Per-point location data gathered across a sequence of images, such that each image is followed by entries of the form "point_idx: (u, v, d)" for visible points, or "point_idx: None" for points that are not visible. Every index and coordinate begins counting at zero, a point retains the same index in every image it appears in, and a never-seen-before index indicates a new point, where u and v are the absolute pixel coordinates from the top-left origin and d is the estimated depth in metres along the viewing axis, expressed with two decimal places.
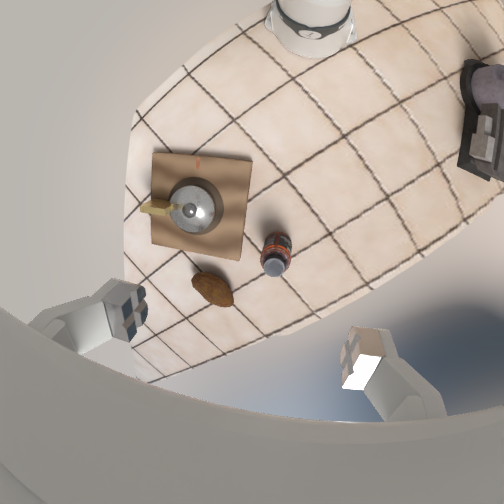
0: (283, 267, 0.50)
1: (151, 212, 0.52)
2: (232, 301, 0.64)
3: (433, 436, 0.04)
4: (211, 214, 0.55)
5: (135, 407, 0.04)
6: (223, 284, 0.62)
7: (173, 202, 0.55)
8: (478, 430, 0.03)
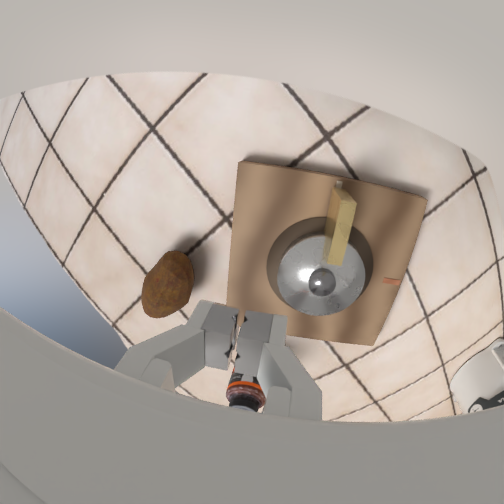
0: None
1: (337, 231, 0.23)
2: None
3: (433, 436, 0.04)
4: (310, 312, 0.31)
5: (135, 407, 0.04)
6: None
7: None
8: (478, 430, 0.03)
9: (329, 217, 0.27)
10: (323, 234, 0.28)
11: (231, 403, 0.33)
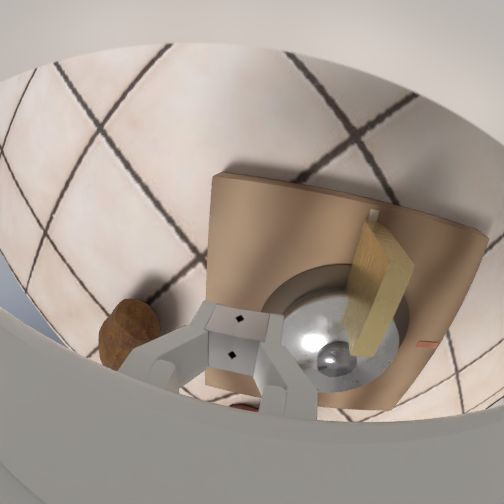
0: None
1: (375, 311, 0.12)
2: None
3: (433, 436, 0.04)
4: (316, 389, 0.21)
5: (135, 407, 0.04)
6: None
7: None
8: (478, 430, 0.03)
9: (357, 271, 0.16)
10: (344, 293, 0.18)
11: None
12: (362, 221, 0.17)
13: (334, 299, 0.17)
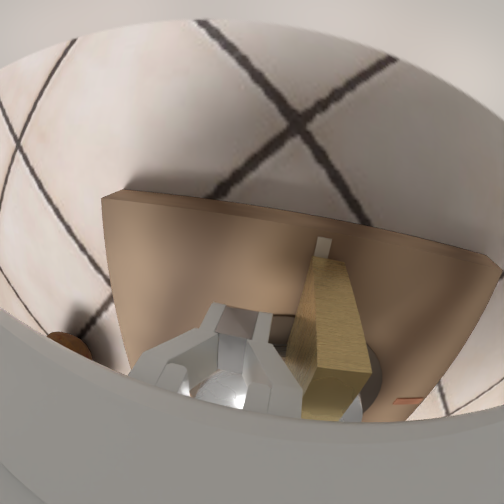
0: None
1: None
2: None
3: (433, 436, 0.04)
4: None
5: (135, 407, 0.04)
6: None
7: None
8: (478, 430, 0.03)
9: (295, 335, 0.11)
10: (282, 357, 0.12)
11: None
12: (305, 256, 0.12)
13: None
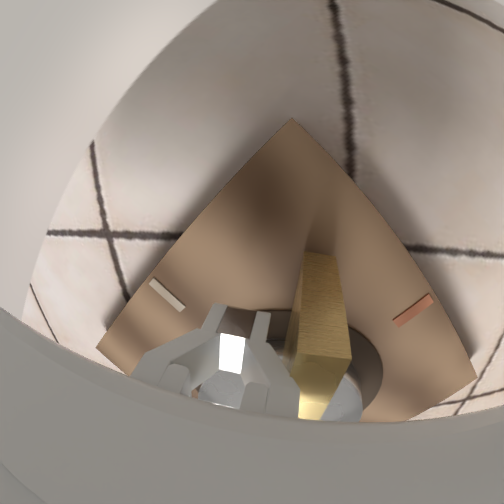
0: None
1: None
2: None
3: (433, 436, 0.04)
4: None
5: (135, 407, 0.04)
6: None
7: None
8: (478, 430, 0.03)
9: (290, 328, 0.11)
10: (280, 350, 0.13)
11: None
12: (159, 298, 0.15)
13: None
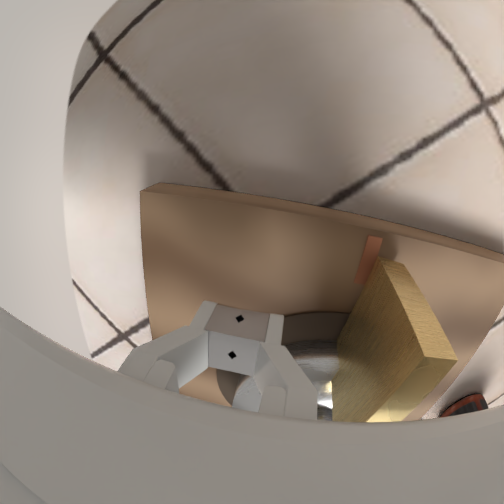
0: None
1: (380, 415, 0.07)
2: None
3: (433, 436, 0.04)
4: None
5: (135, 407, 0.04)
6: None
7: None
8: (478, 430, 0.03)
9: (358, 331, 0.11)
10: (335, 353, 0.12)
11: None
12: None
13: (320, 362, 0.12)
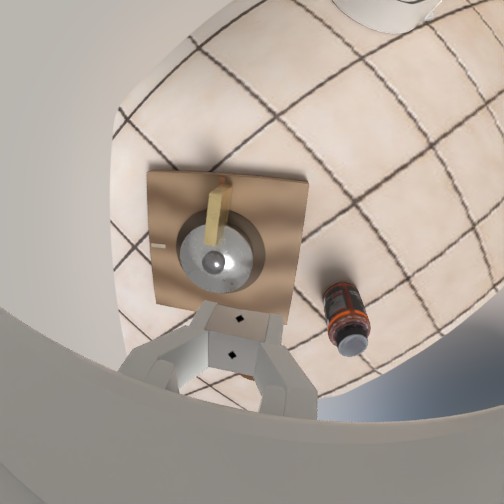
0: (366, 344, 0.30)
1: (208, 218, 0.29)
2: None
3: (433, 436, 0.04)
4: (209, 289, 0.38)
5: (135, 407, 0.04)
6: None
7: (226, 234, 0.34)
8: (478, 430, 0.03)
9: None
10: None
11: None
12: (157, 249, 0.39)
13: None
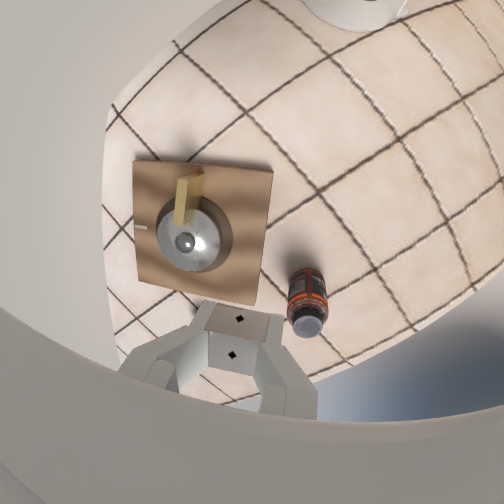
0: (321, 326, 0.34)
1: (177, 201, 0.33)
2: None
3: (433, 436, 0.04)
4: (182, 267, 0.42)
5: (135, 407, 0.04)
6: None
7: (196, 217, 0.38)
8: (478, 430, 0.03)
9: None
10: None
11: None
12: (140, 230, 0.43)
13: None
